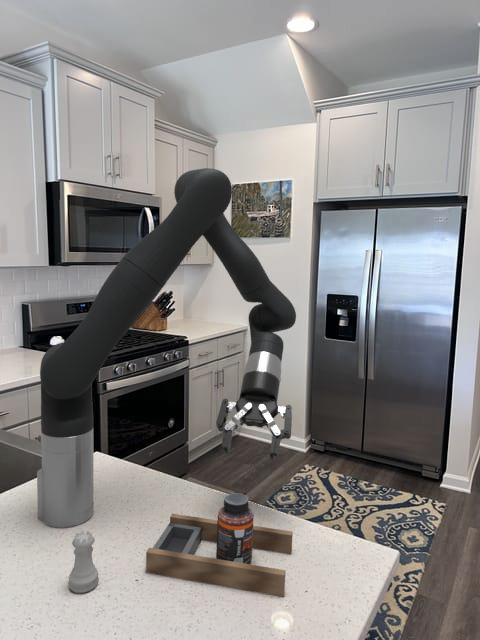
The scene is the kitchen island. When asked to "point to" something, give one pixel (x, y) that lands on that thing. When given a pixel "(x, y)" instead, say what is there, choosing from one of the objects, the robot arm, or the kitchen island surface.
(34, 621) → the kitchen island surface
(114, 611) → the kitchen island surface
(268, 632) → the kitchen island surface
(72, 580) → the rook chess piece
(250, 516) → the supplement bottle
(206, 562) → the walnut channel
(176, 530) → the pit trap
